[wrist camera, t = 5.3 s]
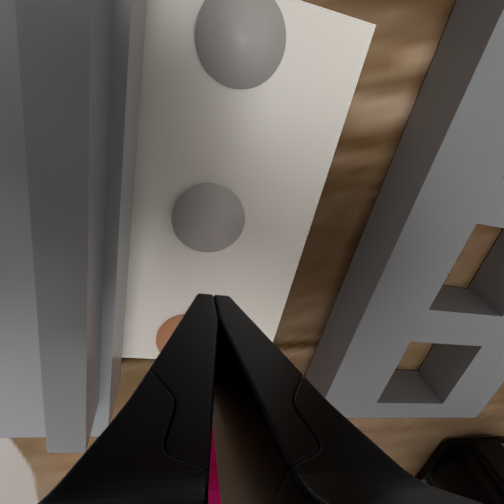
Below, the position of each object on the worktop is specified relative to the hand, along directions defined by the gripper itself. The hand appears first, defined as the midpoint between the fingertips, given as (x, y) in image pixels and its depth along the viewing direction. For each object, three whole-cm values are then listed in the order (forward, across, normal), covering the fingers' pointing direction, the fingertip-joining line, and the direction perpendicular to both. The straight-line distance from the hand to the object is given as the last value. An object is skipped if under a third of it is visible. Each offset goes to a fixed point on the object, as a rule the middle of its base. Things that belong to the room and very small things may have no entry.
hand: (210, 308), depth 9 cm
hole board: (+7, -13, 0) cm, 15 cm away
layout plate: (+6, 0, 0) cm, 7 cm away
